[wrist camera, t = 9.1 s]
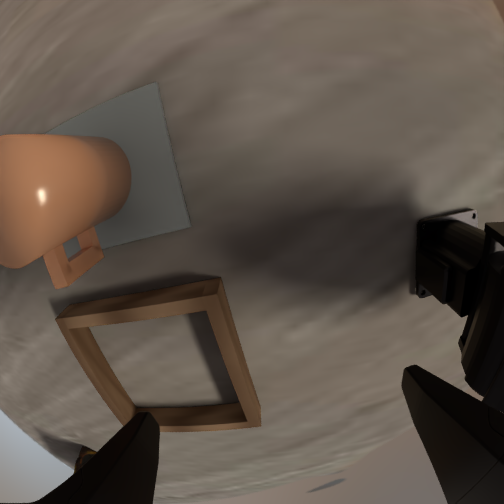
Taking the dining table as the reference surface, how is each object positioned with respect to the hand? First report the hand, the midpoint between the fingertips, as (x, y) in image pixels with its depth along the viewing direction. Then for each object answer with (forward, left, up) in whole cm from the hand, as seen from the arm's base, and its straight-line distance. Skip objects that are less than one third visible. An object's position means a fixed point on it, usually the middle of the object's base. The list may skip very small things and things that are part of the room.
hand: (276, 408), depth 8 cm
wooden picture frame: (+10, +7, -12) cm, 17 cm away
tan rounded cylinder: (+10, -9, -12) cm, 18 cm away
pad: (+10, -9, -12) cm, 18 cm away
